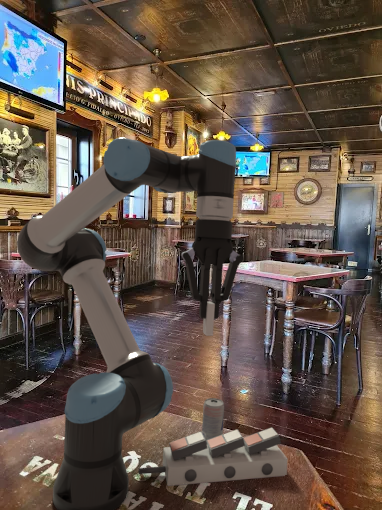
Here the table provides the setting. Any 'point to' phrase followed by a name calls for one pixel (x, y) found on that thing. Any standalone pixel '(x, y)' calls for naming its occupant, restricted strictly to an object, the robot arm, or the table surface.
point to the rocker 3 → (261, 440)
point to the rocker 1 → (188, 445)
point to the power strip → (220, 466)
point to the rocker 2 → (225, 443)
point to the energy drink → (212, 418)
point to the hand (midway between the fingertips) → (207, 333)
